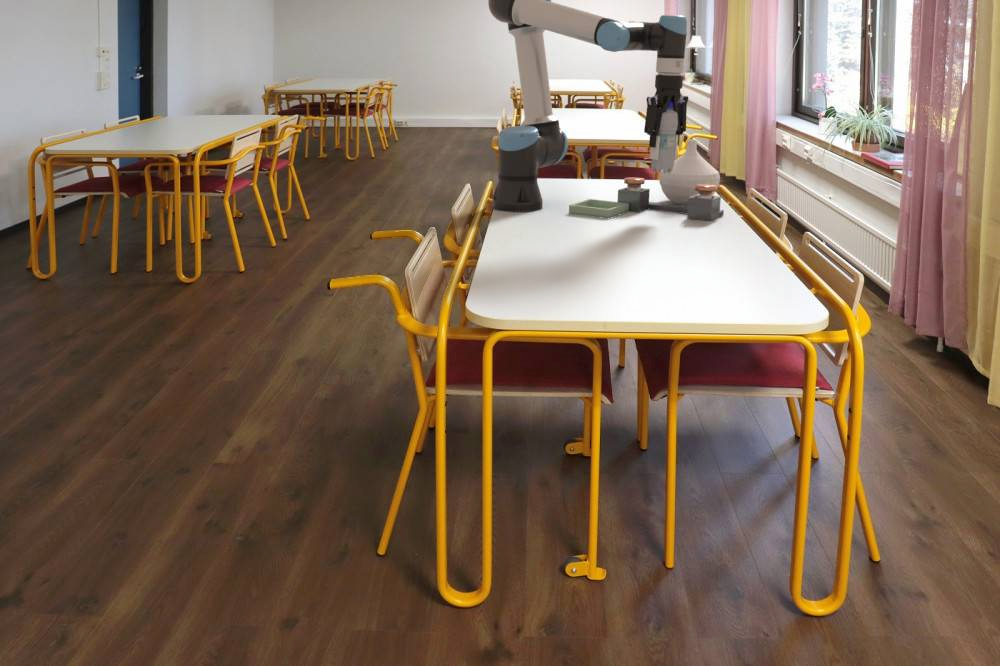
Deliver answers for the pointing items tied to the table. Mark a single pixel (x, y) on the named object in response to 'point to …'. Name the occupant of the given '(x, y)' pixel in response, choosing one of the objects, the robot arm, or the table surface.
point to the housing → (694, 210)
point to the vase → (687, 175)
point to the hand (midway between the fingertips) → (663, 158)
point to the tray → (598, 208)
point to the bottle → (666, 141)
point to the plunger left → (634, 183)
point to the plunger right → (705, 190)
